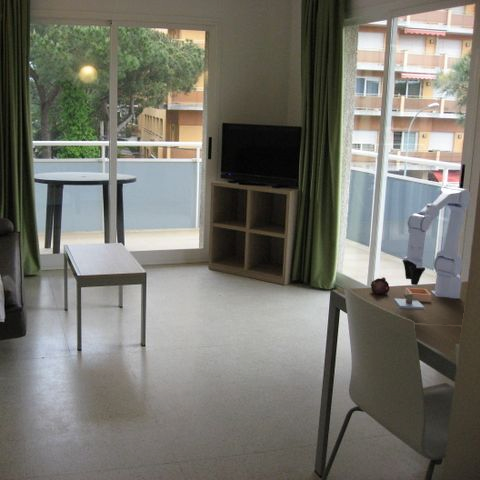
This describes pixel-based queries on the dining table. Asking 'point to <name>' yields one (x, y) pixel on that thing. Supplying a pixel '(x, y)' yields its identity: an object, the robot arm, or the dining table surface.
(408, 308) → the mat
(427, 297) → the orange open box
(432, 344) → the dining table surface
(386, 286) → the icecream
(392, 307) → the dining table surface
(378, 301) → the dining table surface
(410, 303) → the lid
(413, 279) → the robot arm
